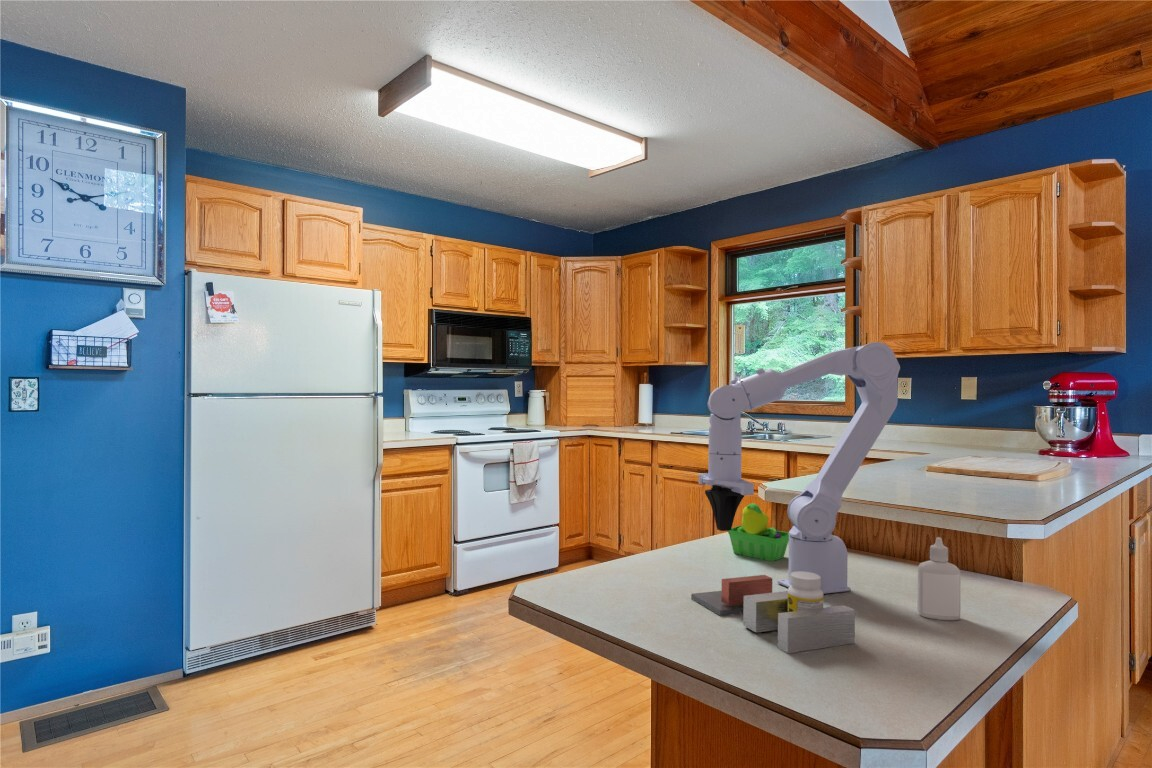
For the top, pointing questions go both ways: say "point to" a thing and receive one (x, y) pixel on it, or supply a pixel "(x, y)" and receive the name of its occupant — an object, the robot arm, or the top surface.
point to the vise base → (716, 603)
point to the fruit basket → (758, 536)
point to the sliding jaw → (755, 601)
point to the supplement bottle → (804, 591)
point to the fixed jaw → (816, 628)
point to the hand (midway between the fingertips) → (724, 530)
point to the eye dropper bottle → (938, 585)
